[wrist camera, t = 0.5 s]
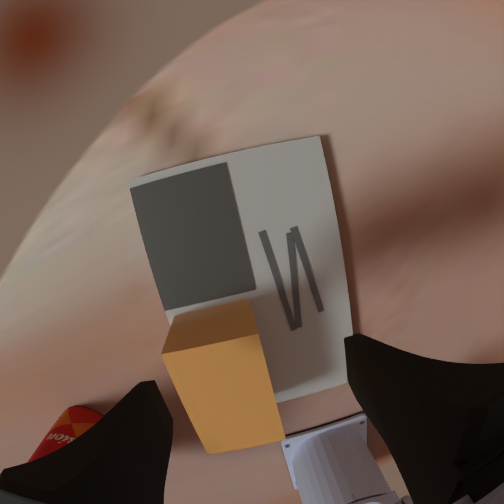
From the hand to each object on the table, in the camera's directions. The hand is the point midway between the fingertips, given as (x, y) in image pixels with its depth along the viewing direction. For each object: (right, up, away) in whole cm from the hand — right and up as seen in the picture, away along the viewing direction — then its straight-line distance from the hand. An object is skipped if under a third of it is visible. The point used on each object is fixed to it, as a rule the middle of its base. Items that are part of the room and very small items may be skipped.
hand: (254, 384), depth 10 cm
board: (0, +2, +10) cm, 10 cm away
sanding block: (-2, -3, +10) cm, 10 cm away
